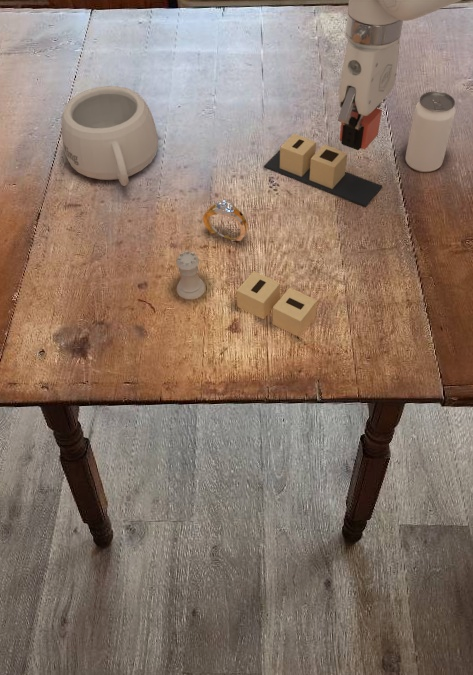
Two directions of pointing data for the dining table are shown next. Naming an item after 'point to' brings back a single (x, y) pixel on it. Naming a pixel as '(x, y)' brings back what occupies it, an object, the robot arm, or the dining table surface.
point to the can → (430, 131)
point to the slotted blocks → (276, 303)
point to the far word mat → (341, 190)
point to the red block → (368, 126)
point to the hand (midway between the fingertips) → (359, 136)
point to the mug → (109, 133)
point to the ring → (227, 210)
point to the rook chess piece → (189, 276)
